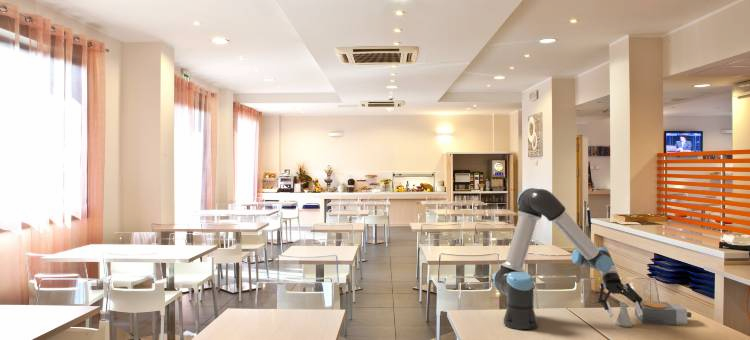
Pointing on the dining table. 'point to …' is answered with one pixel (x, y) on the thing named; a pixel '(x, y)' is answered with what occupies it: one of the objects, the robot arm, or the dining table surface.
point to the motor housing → (663, 313)
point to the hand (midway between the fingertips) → (626, 315)
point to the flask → (623, 316)
